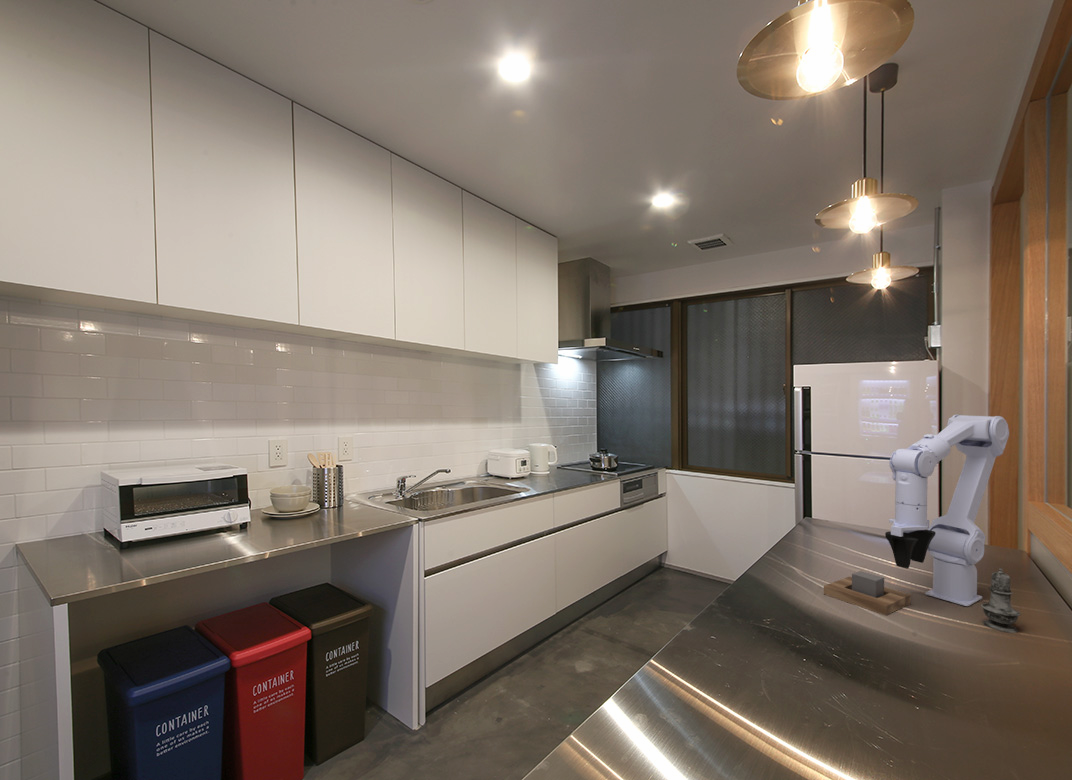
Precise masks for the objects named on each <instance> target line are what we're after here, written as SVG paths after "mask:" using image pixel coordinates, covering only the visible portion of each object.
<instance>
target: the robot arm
mask: <svg viewBox="0 0 1072 780" xmlns="http://www.w3.org/2000/svg"><path fill="white" fill-rule="evenodd" d="M1009 436H1010V429H1009V424H1008V422H1007V420H1006V419H1005V418H1004V417H1003V416H1000V415H995V416H989V415H966V414H965V415H963V414H958V413H957V414H953V415H952V416H951V417H949V418H948V420H947V425H946V427H945V428H944V429H942V430H941V431H940V432H939V433H937V434H931V433H929V434H928V433H927V434H924V435H923V437H922V438H921V439H919V440H918V441H916V442H915V443H912V444H911V445H909V446H908V447H907V448H898V449H897V450H895V451H893V452H892V454H891V456H890V459H889V461H888V464H889V468H890V470H891V472H892V479H893V481H895V489H894V490H895V492H894V493H895V498H894V499H895V500H894V518H890V519H888V523H890V524H892V525H891V526H890V531H886V532H885V533H884V535H885V538H886V540H887V541H888V544H889V545H890V548H891V549H892V553H893V558H894V561H895V566H896V567H898V568H899V567H900V568H903V569H909V568H910V565H911V562H912V561H913V562H917V563H921V564H923V563H924V562H925V559H926V555H927V551H928V552H929V555H930V556H931V557H932V560H933V562H932V563H933V564H932V589H930V590H928V591H926V592H925V595H927V596H929V597H933V598H936V599H940V600H944V601H947V602H951V603H954V604H957V605H960V606H965V607H970V606H972V605H973V604H975V603H976V602H978V601H980V600H982V599H983V596H982V595H979V594H977V593H978V569H977V567H976V566H975V565H976V564H977V563H979V562H980V561H981V560H982V559H983V557H984V554H985V543H986V542H985V541H986V535H985V533H984V531H982V529H981V528H980V527H979V526H978V525H976V523H975V522H976V520H977V519H976V518H977V517H978V516H977V515H978V513H979V511H980V507H981V503H982V501H983V497H984V495H985V492H986V489H987V487H988V483H989V480H990V477H991V474H992V470H993V467H994V464H995V461H996V458H997V457H999V456H1001V455H1003V454H1004V451H1005V449H1006V446H1007V443H1008V440H1009ZM954 446H955V447H956V449H957V451H959V452H960V453H962V454H964V455H965V457H966V458H965V460H964V463H963V466H962V470H961V472H960V475H959V478H958V481H957V483H956V486H955V489H954V492H953V495H952V499H951V500H950V504H949V507H948V510H947V513H946V514H945V515H941V516H939V517H936V518H934V519H932V521H931V523H930V519H928V477H930V476H932V474H933V473H934V471H935V468H936V467H937V465H938V463H939V462H940V461H942V460H943V459H945V458H947V457H948V455H949V454H950V453H951V447H954Z"/></svg>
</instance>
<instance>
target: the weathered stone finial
mask: <svg viewBox="0 0 1072 780" xmlns="http://www.w3.org/2000/svg"><path fill="white" fill-rule="evenodd" d="M1003 571H1004V570H1003V568H1002V567H999V569H998V571H994V572H992V573H991V575H990V578H991V580H990V581H991V583H990V585H991V586H990V587H988V590H989V591H990V599H989V602H985V603H981V605H980V606H981V608H982V610H983V613H984V615H985V616H986V618H988V619H984V620H982V624H983V625H984V626H986V627H988V628H991V629H993V630H996V631H999V632H1004V633H1010V634H1012V633H1013V634H1015V633H1018V632H1019V629H1018V628H1017V627H1015V626H1014V625H1012V624H1015V623H1016V622H1017V621H1018V619H1019V616H1021V612H1019V610H1016V609H1015V608H1013V606H1012V603H1011V600H1012V599H1011V598H1012V597H1011V596H1012V595H1013V594H1014V592H1012V591H1011V577H1010V575H1009V574H1007V573H1005V572H1003Z"/></svg>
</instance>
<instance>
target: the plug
mask: <svg viewBox="0 0 1072 780" xmlns="http://www.w3.org/2000/svg"><path fill="white" fill-rule="evenodd" d="M851 577H852V590H853V591H856V592H859V593H862V594H866V595H869V596H872V597H875V598H879V597H881V596H884V587H885V577H883V576H879V575H876V574H872V573H869V572H866V571H862V570H860V571H857V572H854V573H852V574H851Z"/></svg>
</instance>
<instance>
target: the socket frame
mask: <svg viewBox="0 0 1072 780" xmlns="http://www.w3.org/2000/svg"><path fill="white" fill-rule="evenodd" d="M824 594H825V596H827V595H828V596H827V597H830V596H831V598H833V597H834V599H836V600H839V599H840V601H843V602H845V603H849V604H851V605H854V606H857V607H861V608H864V609H867V610H869V611H872V612H874V611H875V612H876V613H877V612H878V614H880V613H881V615H883V614H884V615H883V616H888V615H890V614H893V613H895V612H896V610H897V611H898V610H901V609H902V608H905V607H907V606H909V605H911V604H912V603H911V602H912V601H911V600H912V597H911V596H912V595H911V594H909V593H906V592H902V591H900V590H895V589H892V588H889V587H885V586H884V596H881V597H879V598H875V597H872V596H869V595H866V594H862V593H859V592H856V591H853V590H852V576H846V577H844V578H840V579H839V580H836V581H833V582H830V583H828V584H825V585H823V595H824ZM894 611H895V612H894ZM875 612H874V613H875ZM892 612H893V613H892Z"/></svg>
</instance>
